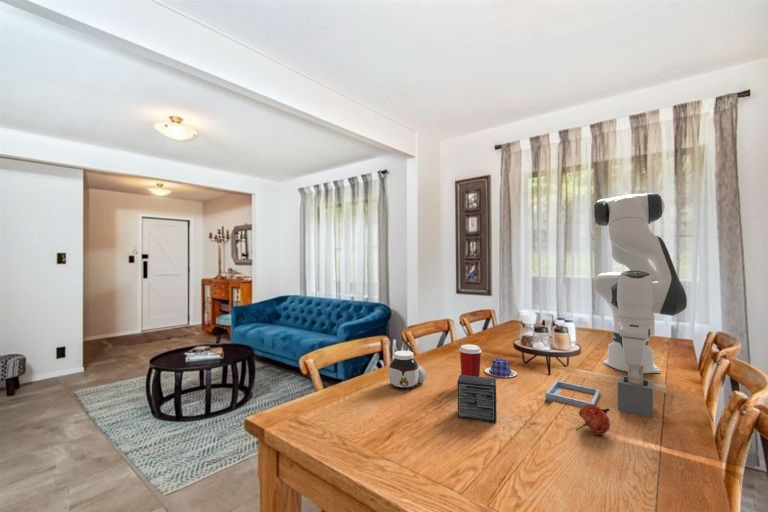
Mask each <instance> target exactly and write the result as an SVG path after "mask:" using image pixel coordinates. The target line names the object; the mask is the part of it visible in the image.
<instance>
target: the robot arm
mask: <svg viewBox="0 0 768 512" xmlns="http://www.w3.org/2000/svg"><path fill="white" fill-rule="evenodd" d="M664 211H665V202H664V199H662V197H661V195H660V194H659V193H655V192H653V193H652V192H648V193H634V194H626V195H621V196H614V197H610V198H602V199H598V200H597V201H596V202H595V203H594V205H593V207H592V211H591V215H592V219H593V220H594V222H595V224H597V225H598V226H605V227H607V226H608V235H609V239H610V241H611V242H610V243H611V256H612V257H611V258H613V259H612V260H613V261H615V262H616V263H618V264H621V265H622V266H625V267H626V268H628V270H625V271H622V272H620V271H619V272H618V271H610V272H603V273H599V274H597V275H596V276H595V278H594V279H593V285H592V286H593V290H594V292H595V293H596V294H597V295H598V296H599V297H601V298H602V299H603V300H604V301H605V302H606V303H607V304H608V306H609V308H610V310H611V313H612V319H613V331H612V335H611V336H612V342H610V343H609V344H608V348H607V359H604V360H602V361H603V362H602V364H603V365H606V366H609V367H611V368H614V369H616V370H618V371H622V372H627V373H628V365H630V368H631V376H632V377H637V378H638V377H639V367H641V366H642V365H643V374H660V373H661V370H660V369H659V367H658V366H657V365H656V364H655V363H654V362H655V359H654V350H653V349H652V348H651V347H650V346H649V345H650V338H651V336H652V337H653V336H655V332H656V331H655V330H656V329H655V327H656V326H655V314H659V315H665V316H671V317H673V316H676V315H678V314H680V313H682V312H683V311H685V310H686V309H687V306H688V295H687V294H686V293H687V292H686V291H685V288H684V286H683V284H682V283H681V280H680V278H679V276H678V273H677V270H676V269H675V266H674V263H673V260H672V258H671V255H670V252H669V250H668V247H667V245H666V243H665V241H664V239H662V237H660V236H658V235H655V234H654V233H653V232H652V231H651V229H650V228H649V225H650V224H651V223H653V222H656V221H658V220H659V219H660V218H662V215H663V213H664ZM649 260H650V261H651V262H652V263H653V265H654V267H655V268H654V267H653V265H651V263H650V261H649Z"/></svg>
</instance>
